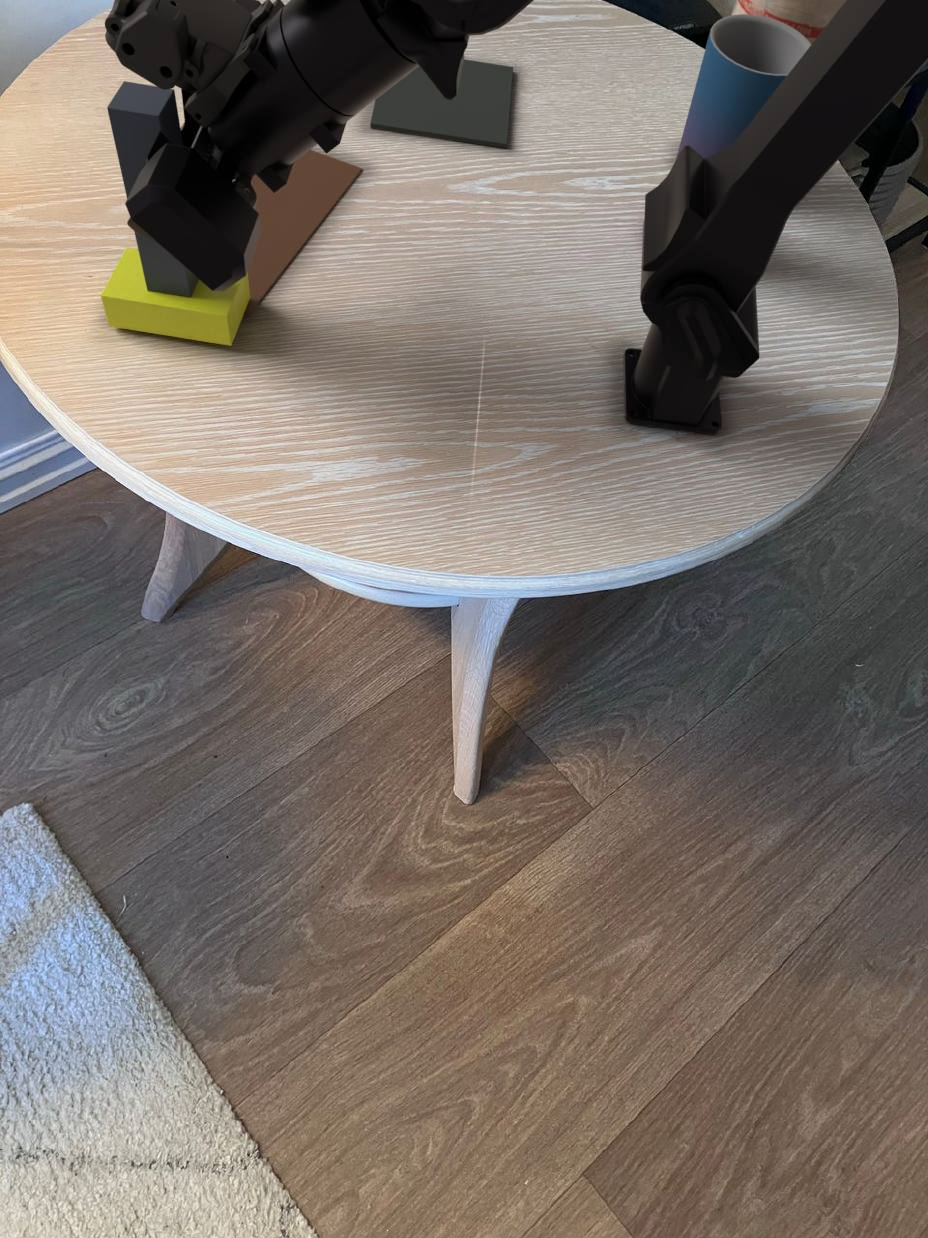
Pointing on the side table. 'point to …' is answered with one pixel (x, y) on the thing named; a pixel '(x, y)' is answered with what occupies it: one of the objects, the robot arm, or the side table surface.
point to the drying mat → (450, 106)
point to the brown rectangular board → (293, 215)
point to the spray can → (793, 13)
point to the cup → (738, 78)
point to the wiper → (150, 276)
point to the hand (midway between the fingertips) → (142, 211)
